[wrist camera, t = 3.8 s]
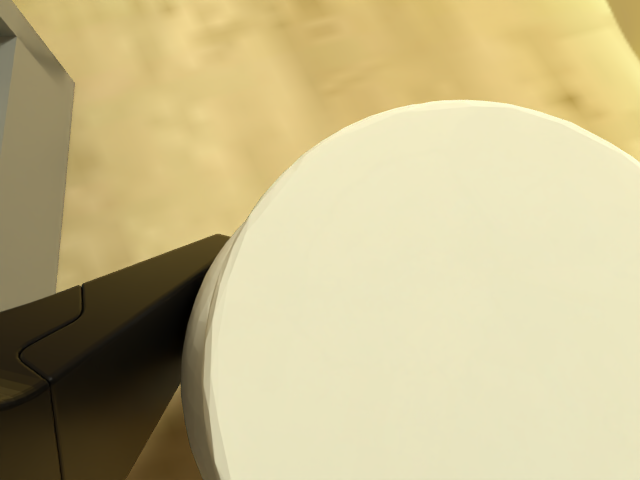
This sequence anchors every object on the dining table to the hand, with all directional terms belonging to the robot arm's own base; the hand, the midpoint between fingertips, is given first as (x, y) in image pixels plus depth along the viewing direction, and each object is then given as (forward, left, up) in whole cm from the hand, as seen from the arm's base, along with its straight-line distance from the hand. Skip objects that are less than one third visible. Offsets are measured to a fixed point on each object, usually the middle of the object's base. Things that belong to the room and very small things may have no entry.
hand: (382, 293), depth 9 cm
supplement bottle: (-1, 0, -7) cm, 7 cm away
